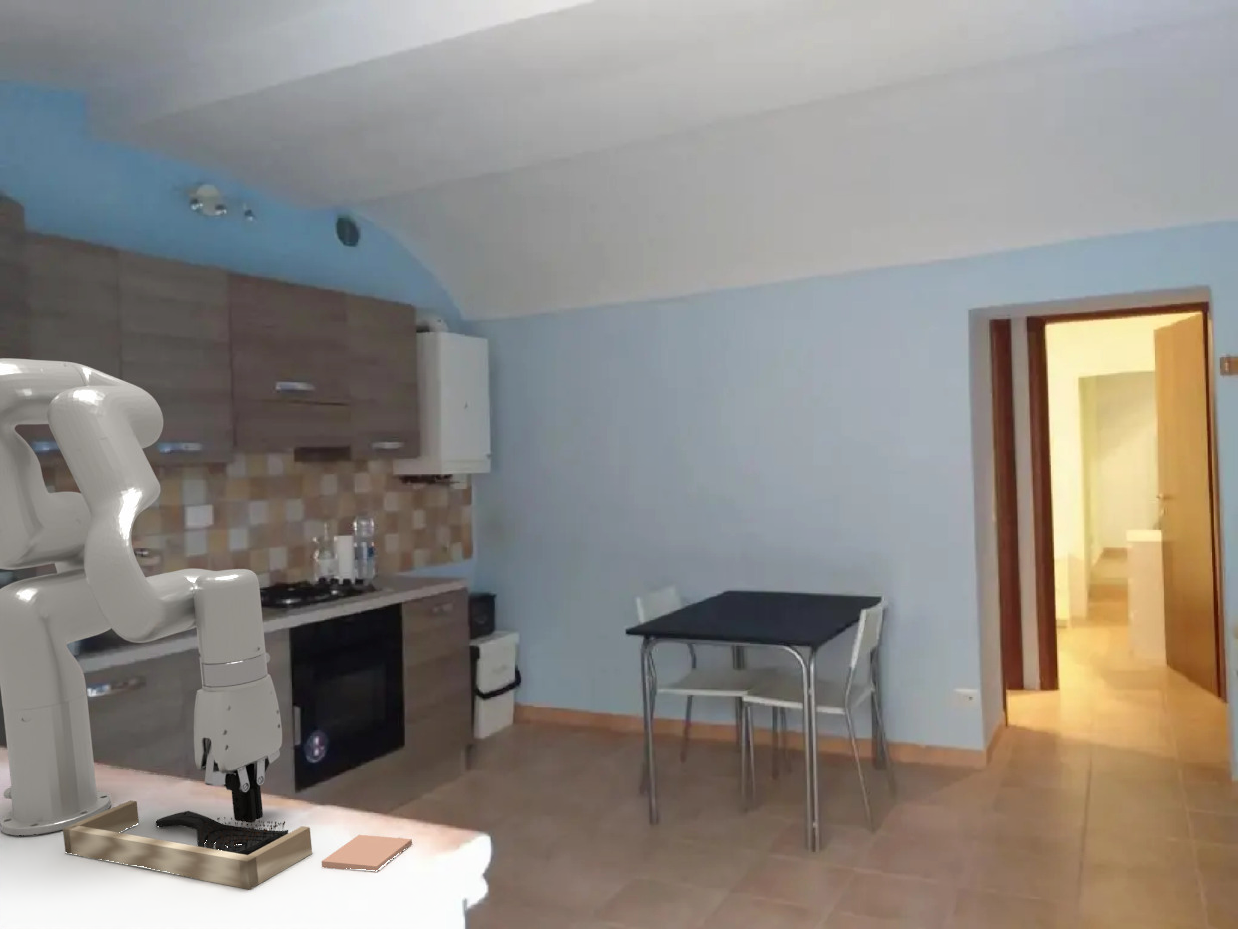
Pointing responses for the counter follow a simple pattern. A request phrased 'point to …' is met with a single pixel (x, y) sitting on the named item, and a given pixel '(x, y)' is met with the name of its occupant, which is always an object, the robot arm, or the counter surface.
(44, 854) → the counter surface
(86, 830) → the u-shaped wooden frame
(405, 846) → the terracotta tile
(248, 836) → the hairbrush
